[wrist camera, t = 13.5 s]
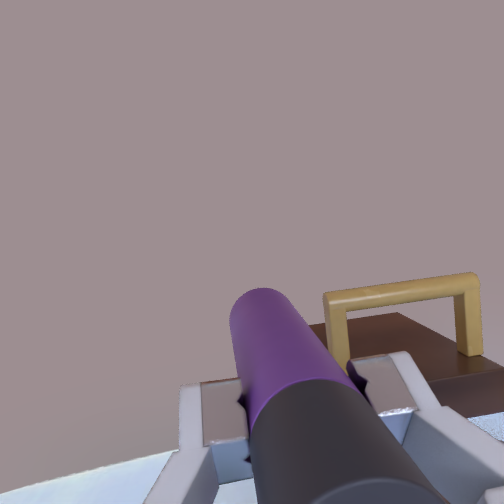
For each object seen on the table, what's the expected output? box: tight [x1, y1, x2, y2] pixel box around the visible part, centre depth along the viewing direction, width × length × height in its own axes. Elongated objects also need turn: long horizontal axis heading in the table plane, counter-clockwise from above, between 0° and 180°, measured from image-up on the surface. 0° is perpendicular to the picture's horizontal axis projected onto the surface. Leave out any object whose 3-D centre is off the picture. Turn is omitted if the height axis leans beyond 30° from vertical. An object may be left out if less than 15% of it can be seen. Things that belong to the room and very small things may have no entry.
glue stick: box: [229, 288, 447, 504], centre depth 11 cm, size 12×3×3 cm, turn 6°
